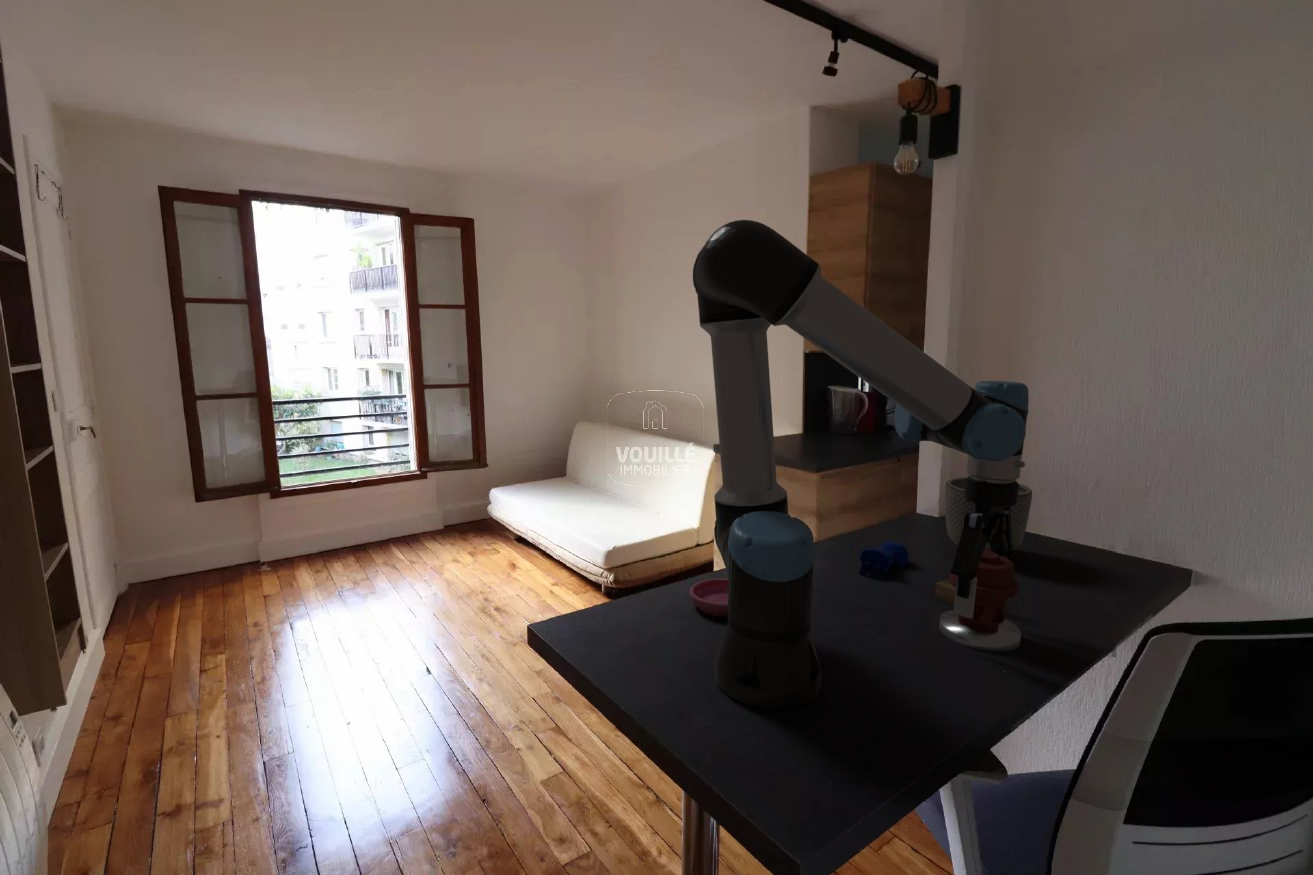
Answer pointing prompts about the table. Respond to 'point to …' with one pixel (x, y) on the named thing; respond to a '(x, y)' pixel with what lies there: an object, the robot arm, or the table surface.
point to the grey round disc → (980, 634)
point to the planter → (960, 506)
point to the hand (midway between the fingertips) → (979, 603)
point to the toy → (883, 559)
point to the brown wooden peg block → (945, 592)
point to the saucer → (711, 596)
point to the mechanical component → (991, 591)
